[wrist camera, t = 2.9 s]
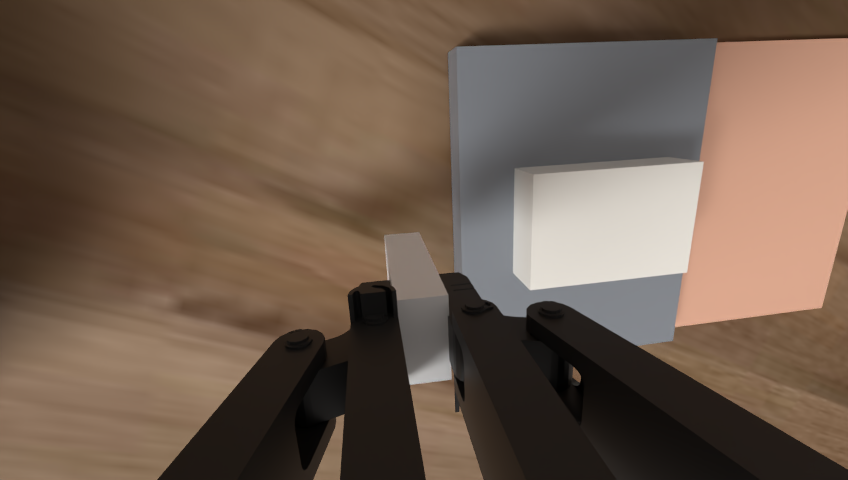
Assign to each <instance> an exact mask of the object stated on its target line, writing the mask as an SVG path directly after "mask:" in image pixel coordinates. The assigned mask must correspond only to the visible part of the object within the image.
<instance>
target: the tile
mask: <svg viewBox="0 0 848 480" xmlns="http://www.w3.org/2000/svg"><path fill="white" fill-rule="evenodd" d="M703 164H704V162H703V161H695V160H688V159H680V158H672V157H661V158H647V159H633V160H620V161H606V162H592V163H578V164H565V165H551V166H537V167H523V168H515V172H514V237H513V273H514V274H515V275H516V276H517V277H518V278H519V280H520V281H521V282H522V283H523V284H524V285H525V286H526V287H527V288H528V289H529V290H538V289H546V288H555V287H564V286H573V285H581V284H590V283H599V282H608V281H617V280H625V279H634V278H643V277H652V276H661V275H669V274H678V273H687V270H688V263H689V256H690V250H691V243H692V237H693V230H694V223H695V217H696V210H697V204H698V197H699V190H700V184H701V177H702V171H703Z"/></svg>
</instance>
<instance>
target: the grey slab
mask: <svg viewBox="0 0 848 480" xmlns="http://www.w3.org/2000/svg"><path fill="white" fill-rule="evenodd" d="M717 39H718V38H712V39H681V40H650V41H618V42H587V43H555V44H524V45H492V46H461V47H455V48H454V49H453V50H451V51H450V52H448V72H449V105H450V138H451V171H452V204H453V237H454V270H455V273H456V272H459V273H461V274H463V275H465V276H467V277H468V278H469V280H470V282H471V284H472V285H473V286H474V288H475V289H476V291H477V292H478V294H479V296H480V297H481V299H483V300H487V301H490V302H492V303H494V304H495V305H496V306H497V307H498V308H499V310H500V311H501V313H502V314H503V315H505V316H513V317H526V311H527V308H528V306H529V305H531V304H534V303H536V302H542V301H555V302H557V303H562V304H565V305H567V306H569V307H571V308H573V309H575V310H576V311H578V312H580V313H581V314H583V315H585V316H587V317H588V318H590V319H592V320H593V321H595V322H597V323H599V324H600V325H602V326H604V327H605V328H607V329H609V330H610V331H612V332H614V333H616V334H617V335H619V336H621V337H622V338H624V339H626V340H628V341H629V342H631V343H633V344H634V345H636V346H638V345H645V344H653V343H660V342H667V341H673V335H674V329H675V322H676V315H677V308H678V302H679V295H680V288H681V281H682V275H683V273H678V274H669V275H661V276H652V277H643V278H634V279H625V280H617V281H608V282H599V283H590V284H581V285H573V286H564V287H555V288H546V289H538V290H529V289H528V288H527V287H526V286H525V285H524V284H523V283H522V282H521V281H520V280H519V278H518V277H517V276H516V275H515V274H514V273H513V237H514V172H515V168H523V167H537V166H551V165H565V164H578V163H592V162H606V161H620V160H633V159H647V158H661V157H672V158H680V159H688V160H695V161H699V160H700V153H701V147H702V140H703V133H704V126H705V120H706V113H707V106H708V99H709V93H710V86H711V79H712V72H713V66H714V59H715V52H716V45H717Z"/></svg>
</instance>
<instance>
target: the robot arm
mask: <svg viewBox="0 0 848 480" xmlns="http://www.w3.org/2000/svg"><path fill="white" fill-rule="evenodd" d="M384 239H385V251H386V263H387V275H388V280H386V281H376V282H366V283H361V284H360V286H359V287H356V288H354V289H353V290H351V291H350V292H349V294H348V303H349V311H350V320H351V327H350V330H349V331H347V332H346V333H344V334H342V335H340V336H338V337H335V338H332V339H329V340H325V337H324V335H323V334H322V333H321V332H319V331H317V330H311V329H304V330H302V329H299V330H295V331H291V332H288V333H287V334H285V335H283V336H281V337H279V338H278V339H277V340H275V341H274V342H273V343H272V345H271V346H270V347H269V348H268V349H267V351H266V352H265V353H264V354H263V355H262V357H261V358H260V359H259V360H258V361H257V362H256V364H255V365H254V366H253V367H252V368H251V370H250V371H249V372H248V373H247V374H246V375H245V377H244V378H243V379H242V380H241V381H240V383H239V384H238V385H237V386H236V387H235V388H234V390H233V391H232V392H231V393H230V394H229V396H228V397H227V398H226V399H225V400H224V401H223V403H222V404H221V405H220V406H219V407H218V409H217V410H216V411H215V412H214V413H213V414H212V416H211V417H210V418H209V419H208V420H207V422H206V423H205V424H204V425H203V426H202V428H201V429H200V430H199V431H198V432H197V433H196V435H195V436H194V437H193V438H192V439H191V441H190V442H189V443H188V444H187V445H186V446H185V448H184V449H183V450H182V451H181V452H180V454H179V455H178V456H177V457H176V458H175V459H174V461H173V462H172V463H171V464H170V465H169V467H168V468H167V469H166V470H165V471H164V472H163V474H162V475H161V476H160V477H159V478H158V480H313V479H314V476H315V474H316V471H317V469H318V467H319V464H320V462H321V460H322V457H323V455H324V452H325V450H326V448H327V445H328V443H329V441H330V438H331V436H332V433H333V431H334V429H335V425H336V417H338V416H340V415H343V414H345V415H344V430H343V445H342V460H341V474H340V480H426V478H425V472H424V466H423V461H422V455H421V449H420V443H419V437H418V431H417V425H416V419H415V413H414V407H413V401H412V395H411V390H410V385H412V384H420V383H428V382H435V381H443V380H451V366H452V369H453V372H454V385H455V412H459V406H460V408H461V411H462V414H463V417H464V420H465V423H466V426H467V429H468V432H469V436H470V439H471V442H472V445H473V448H474V451H475V454H476V457H477V460H478V463H479V467H480V470H481V473H482V476H483V479H484V480H848V469H846V468H844V467H842V466H841V465H839V464H837V463H836V462H834V461H832V460H830V459H829V458H827V457H825V456H824V455H822V454H820V453H819V452H817V451H815V450H813V449H812V448H810V447H808V446H807V445H805V444H803V443H801V442H800V441H798V440H796V439H795V438H793V437H791V436H790V435H788V434H786V433H784V432H783V431H781V430H779V429H778V428H776V427H774V426H772V425H771V424H769V423H767V422H766V421H764V420H762V419H761V418H759V417H757V416H755V415H754V414H752V413H750V412H749V411H747V410H745V409H743V408H742V407H740V406H738V405H737V404H735V403H733V402H732V401H730V400H728V399H726V398H725V397H723V396H721V395H720V394H718V393H716V392H714V391H713V390H711V389H709V388H708V387H706V386H704V385H703V384H701V383H699V382H697V381H696V380H694V379H692V378H691V377H689V376H687V375H685V374H684V373H682V372H680V371H679V370H677V369H675V368H674V367H672V366H670V365H668V364H667V363H665V362H663V361H662V360H660V359H658V358H656V357H655V356H653V355H651V354H650V353H648V352H646V351H645V350H643V349H641V348H639V347H638V346H636V345H634V344H633V343H631V342H629V341H628V340H626V339H624V338H622V337H621V336H619V335H617V334H616V333H614V332H612V331H610V330H609V329H607V328H605V327H604V326H602V325H600V324H599V323H597V322H595V321H593V320H592V319H590V318H588V317H587V316H585V315H583V314H581V313H580V312H578V311H576V310H575V309H573V308H571V307H569V306H567V305H565V304H562V303H557V302H555V301H542V302H536V303H534V304H531V305H529V306H528V308H527V311H526V317H513V316H505V315H503V314H502V313H501V311H500V310H499V308H498V307H497V306H496V305H495V304H494V303H492V302H490V301H487V300H483V299H481V297H480V296H479V294H478V292H477V291H476V289H475V288H474V286H473V285H472V284H471V282H470V280H469V278H468V277H467V276H465V275H463V274H461V273H459V272H456V273H446V274H438V272H437V269H436V267H435V265H434V263H433V261H432V259H431V257H430V255H429V252H428V250H427V248H426V246H425V244H424V242H423V240H422V237H421V235H420V233H419V232H415V233H403V234H392V235H384ZM573 367H575V369H576V370H577V371H578V372H579V373H580V375H581V381H580V383H579V382H577V381H576V380H575V379H574V378H572V375H573Z"/></svg>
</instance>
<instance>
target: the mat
mask: <svg viewBox="0 0 848 480" xmlns="http://www.w3.org/2000/svg"><path fill="white" fill-rule="evenodd" d="M699 161H703V162H704V164H703V171H702V177H701V184H700V190H699V197H698V204H697V210H696V217H695V223H694V230H693V237H692V243H691V250H690V256H689V263H688V270H687V273H683V275H682V281H681V288H680V295H679V302H678V308H677V315H676V322H675V327H679V326H687V325H694V324H702V323H709V322H717V321H724V320H732V319H740V318H747V317H755V316H762V315H770V314H777V313H785V312H792V311H800V310H808V309H815V308H822V305H823V301H824V297H825V293H826V289H827V286H828V282H829V278H830V274H831V270H832V267H833V263H834V259H835V255H836V252H837V248H838V244H839V240H840V236H841V233H842V229H843V225H844V221H845V217H846V214H847V210H848V38H836V39H806V40H776V41H746V42H717V45H716V52H715V59H714V66H713V72H712V79H711V86H710V93H709V99H708V106H707V113H706V120H705V126H704V133H703V140H702V147H701V153H700V160H699Z"/></svg>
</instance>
